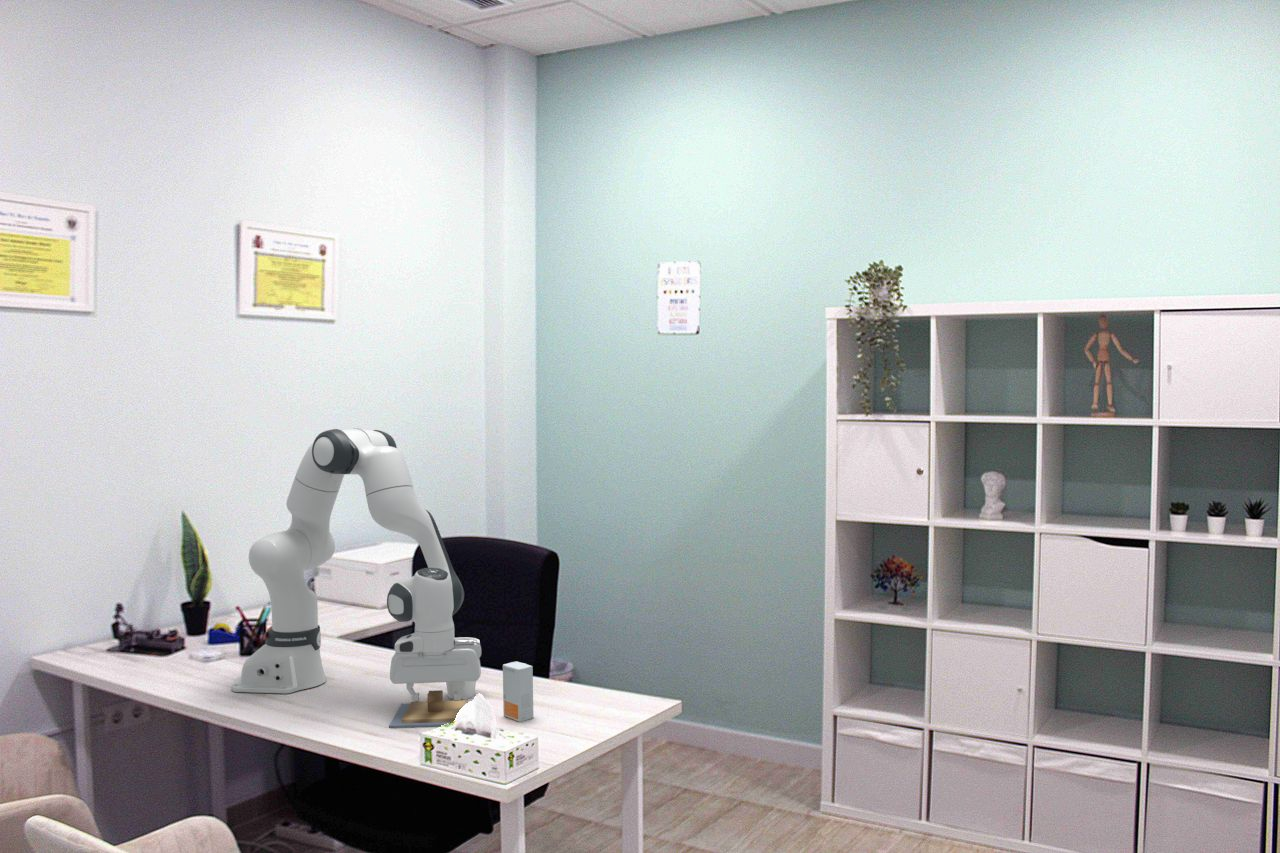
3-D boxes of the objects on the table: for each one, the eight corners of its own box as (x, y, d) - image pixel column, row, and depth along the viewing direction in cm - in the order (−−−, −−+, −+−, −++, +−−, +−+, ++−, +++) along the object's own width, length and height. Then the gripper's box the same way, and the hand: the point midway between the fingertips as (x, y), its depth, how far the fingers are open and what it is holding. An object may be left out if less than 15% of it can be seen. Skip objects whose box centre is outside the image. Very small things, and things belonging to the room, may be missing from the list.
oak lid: (401, 723, 237) (401, 701, 237) (411, 705, 250) (411, 684, 250) (460, 721, 238) (460, 700, 237) (467, 703, 251) (467, 683, 250)
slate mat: (388, 727, 235) (388, 725, 235) (401, 705, 251) (401, 703, 251) (471, 725, 236) (471, 723, 236) (479, 703, 252) (479, 701, 252)
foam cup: (433, 698, 257) (432, 644, 256) (457, 687, 265) (456, 635, 265) (465, 703, 253) (464, 648, 252) (488, 692, 261) (487, 639, 260)
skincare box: (502, 716, 242) (501, 664, 242) (517, 712, 245) (516, 660, 245) (519, 722, 238) (518, 669, 237) (534, 718, 241) (533, 665, 240)
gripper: (482, 636, 247) (483, 695, 247) (392, 638, 246) (394, 698, 246) (479, 642, 240) (481, 703, 241) (387, 645, 239) (389, 706, 240)
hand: (436, 701), depth 244 cm, fingers open, 8 cm apart
